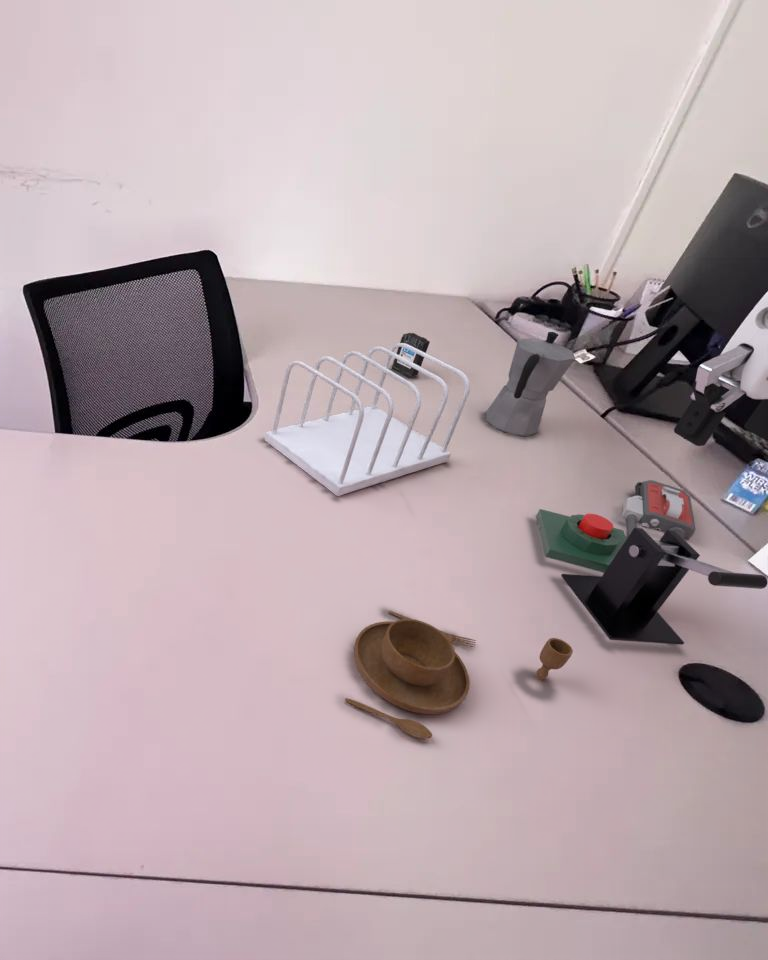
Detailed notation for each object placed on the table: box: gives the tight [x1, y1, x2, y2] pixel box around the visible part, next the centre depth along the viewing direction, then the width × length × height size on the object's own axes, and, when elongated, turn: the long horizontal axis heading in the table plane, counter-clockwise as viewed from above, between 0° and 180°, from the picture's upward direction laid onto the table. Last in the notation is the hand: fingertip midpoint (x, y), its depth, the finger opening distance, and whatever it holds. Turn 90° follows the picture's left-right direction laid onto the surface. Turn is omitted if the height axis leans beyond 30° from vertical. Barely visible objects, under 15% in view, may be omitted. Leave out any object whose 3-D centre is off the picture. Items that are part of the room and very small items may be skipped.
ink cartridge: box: [391, 332, 431, 379], centre depth 137 cm, size 5×2×8 cm, turn 34°
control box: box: [535, 508, 628, 573], centre depth 93 cm, size 11×10×4 cm
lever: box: [653, 539, 768, 590], centre depth 74 cm, size 12×5×2 cm, turn 0°
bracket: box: [560, 527, 701, 645], centre depth 81 cm, size 11×9×12 cm
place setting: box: [344, 610, 574, 740], centre depth 70 cm, size 18×20×6 cm
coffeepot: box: [485, 331, 576, 437], centre depth 119 cm, size 15×9×18 cm, turn 137°
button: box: [578, 513, 614, 539], centre depth 92 cm, size 4×4×2 cm
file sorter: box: [264, 342, 471, 497], centre depth 107 cm, size 25×17×16 cm
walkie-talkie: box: [621, 479, 697, 541], centre depth 100 cm, size 9×4×20 cm
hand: (723, 437), depth 71 cm, fingers open, 9 cm apart
